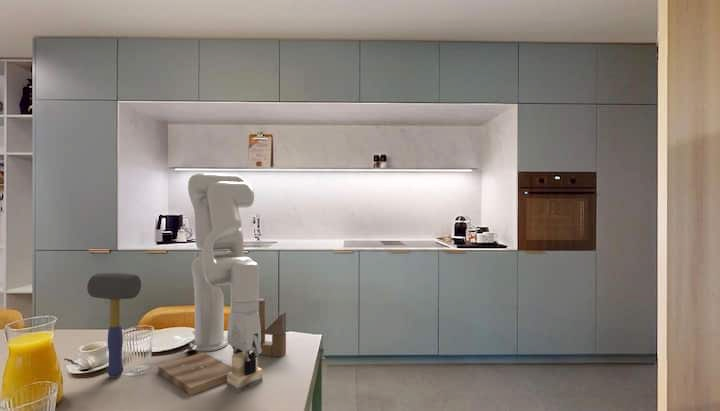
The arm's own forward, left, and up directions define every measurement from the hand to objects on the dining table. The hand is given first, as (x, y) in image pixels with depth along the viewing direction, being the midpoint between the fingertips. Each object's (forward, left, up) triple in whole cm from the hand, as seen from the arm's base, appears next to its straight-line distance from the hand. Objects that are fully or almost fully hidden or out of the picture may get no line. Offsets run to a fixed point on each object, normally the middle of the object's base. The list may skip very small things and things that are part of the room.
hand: (244, 370), depth 109 cm
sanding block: (0, 0, -4) cm, 4 cm away
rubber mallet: (-32, -22, -4) cm, 39 cm away
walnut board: (-15, -6, -4) cm, 17 cm away
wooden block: (-12, +17, -4) cm, 21 cm away
